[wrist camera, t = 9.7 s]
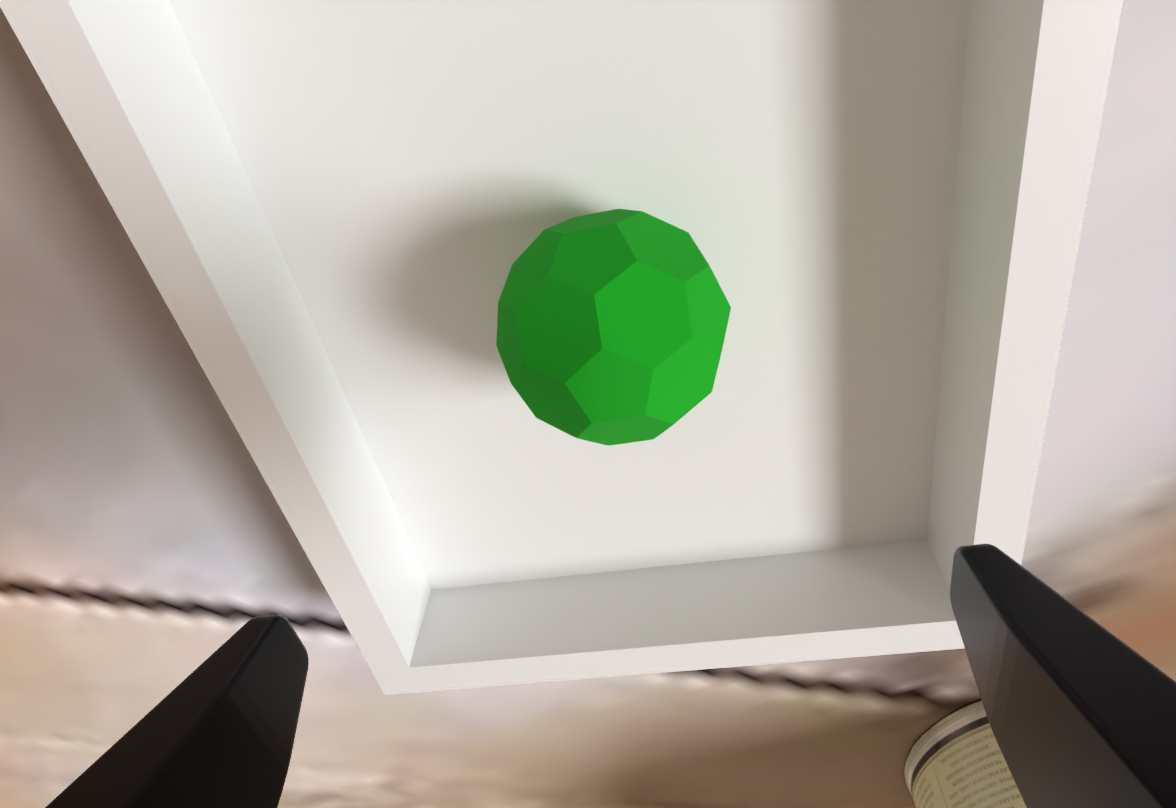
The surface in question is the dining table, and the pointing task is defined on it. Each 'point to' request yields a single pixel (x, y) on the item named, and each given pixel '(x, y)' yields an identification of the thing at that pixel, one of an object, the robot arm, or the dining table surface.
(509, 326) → the polyhedron
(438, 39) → the white tray
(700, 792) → the dining table surface
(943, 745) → the coffee can
